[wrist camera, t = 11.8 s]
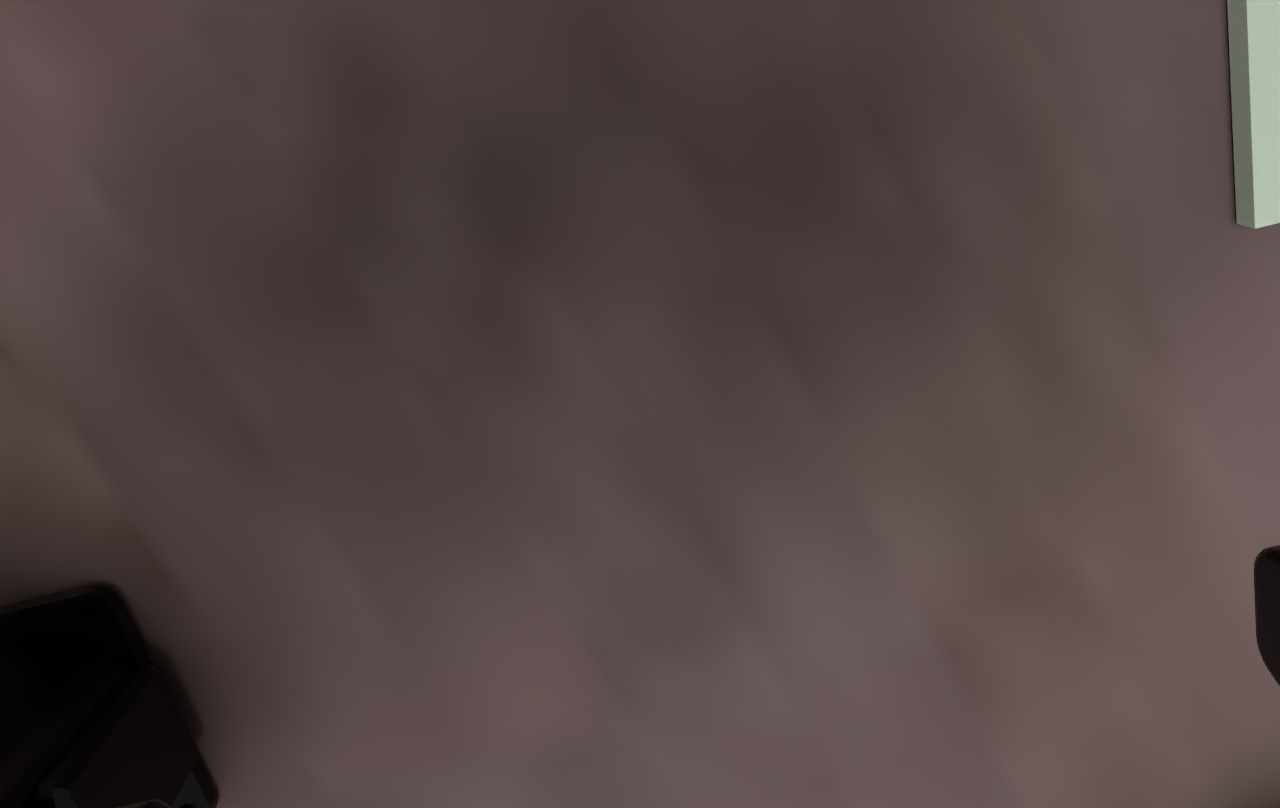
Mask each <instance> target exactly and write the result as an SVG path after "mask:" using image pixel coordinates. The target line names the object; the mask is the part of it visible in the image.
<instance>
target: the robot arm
mask: <svg viewBox="0 0 1280 808" xmlns="http://www.w3.org/2000/svg"><path fill="white" fill-rule="evenodd" d="M1254 591H1255V616H1256V637H1257V644H1258V648H1259V651H1260V654H1261V656H1262V659H1263V661H1264V663H1265V665H1266V667H1267V668H1268V670H1269V672H1270V673H1271V675H1272V676H1273V677H1274V679H1275V680H1276V682H1277V683H1278V684H1279V686H1280V545H1278V546H1274V547H1269V548H1266V549H1263V550H1262V551H1261V552H1260V553H1259V554H1258V555H1257V557H1256V560H1255V563H1254ZM88 605H94V606H96V607H98V608H99V609H100V610H101V611H102V613H103V615H97V614H95V613H93V612H92V611H91V610H90V609H89V606H88ZM187 803H192V804H194V805H196V806H197V807H198V808H216V807H217V803H218V801H217V797H216V794H215V792H214V790H213V788H212V786H211V784H210V782H209V780H208V777H207V775H206V773H205V771H204V769H203V767H202V765H201V763H200V761H199V753H198V751H197V749H196V747H195V745H194V743H193V741H192V739H191V736H190V734H189V732H188V730H187V728H186V726H185V724H184V722H183V720H182V718H181V716H180V714H179V712H178V710H177V708H176V706H175V703H174V701H173V699H172V697H171V695H170V693H169V691H168V689H167V687H166V685H165V683H164V681H163V679H162V677H161V675H160V673H159V671H157V670H156V669H155V668H154V666H153V664H152V662H151V660H150V658H149V656H148V654H147V652H146V650H145V648H144V646H143V644H142V642H141V640H140V638H139V635H138V633H137V631H136V629H135V627H134V625H133V623H132V621H131V619H130V617H129V615H128V613H127V611H126V609H125V607H124V605H123V603H122V600H121V599H120V598H119V596H118V595H117V594H116V593H115V592H114V591H112V590H111V589H109V588H107V587H103V586H100V585H97V586H88V587H84V588H79V589H75V590H71V591H67V592H63V593H59V594H54V595H50V596H46V597H42V598H38V599H34V600H29V601H25V602H21V603H17V604H13V605H9V606H4V607H0V808H193V807H190V806H189V805H188V804H187Z"/></svg>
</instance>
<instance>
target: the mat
mask: <svg viewBox="0 0 1280 808" xmlns="http://www.w3.org/2000/svg"><path fill="white" fill-rule="evenodd" d="M1227 10H1228V33H1229V56H1230V79H1231V103H1232V126H1233V149H1234V172H1235V195H1236V219H1237V224H1239V225H1243V226H1247V227H1250V228H1254V229H1256V228H1260V227H1264V226H1268V225H1272V224H1276V223H1280V0H1227Z"/></svg>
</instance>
